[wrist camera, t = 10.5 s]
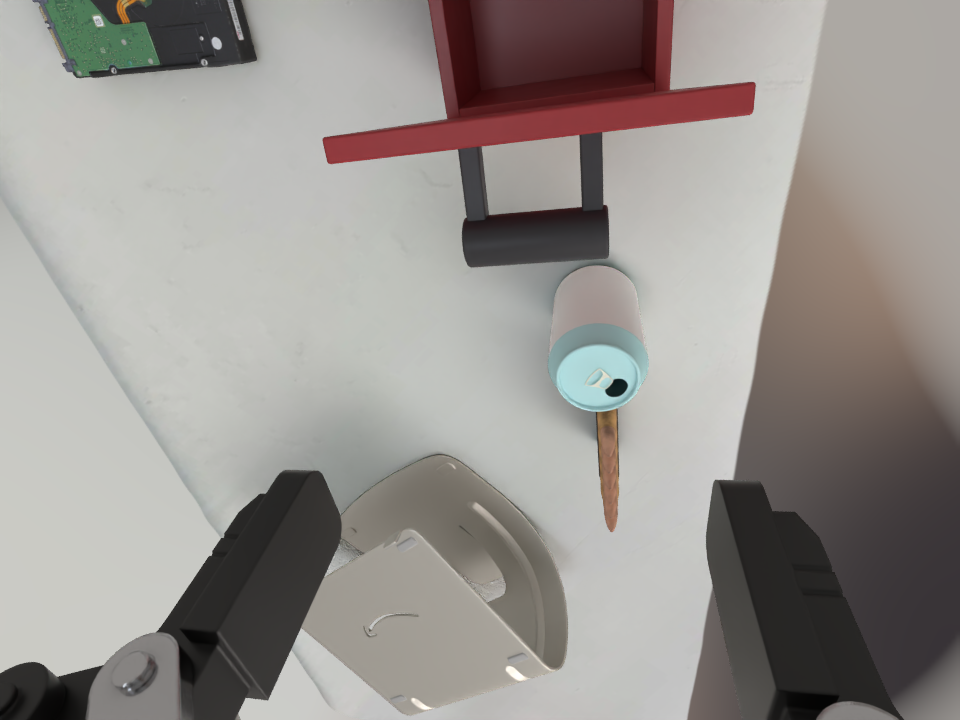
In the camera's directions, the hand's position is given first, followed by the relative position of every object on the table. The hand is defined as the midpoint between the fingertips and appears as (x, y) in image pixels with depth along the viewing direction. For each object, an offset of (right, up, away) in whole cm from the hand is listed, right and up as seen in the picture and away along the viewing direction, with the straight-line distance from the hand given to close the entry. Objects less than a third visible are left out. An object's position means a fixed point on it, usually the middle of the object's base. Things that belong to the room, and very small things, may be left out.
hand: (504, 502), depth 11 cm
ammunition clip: (+12, -1, +41) cm, 43 cm away
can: (+10, +8, +35) cm, 37 cm away
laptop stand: (-6, -20, +58) cm, 61 cm away
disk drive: (-25, +30, +27) cm, 47 cm away
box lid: (+2, +14, +12) cm, 18 cm away
